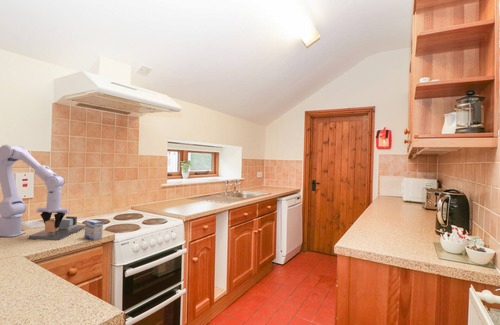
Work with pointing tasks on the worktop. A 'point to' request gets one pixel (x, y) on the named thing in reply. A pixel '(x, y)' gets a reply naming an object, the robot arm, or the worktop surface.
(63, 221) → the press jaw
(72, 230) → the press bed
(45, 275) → the worktop surface
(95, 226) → the medicine box
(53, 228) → the housing block
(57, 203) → the robot arm
